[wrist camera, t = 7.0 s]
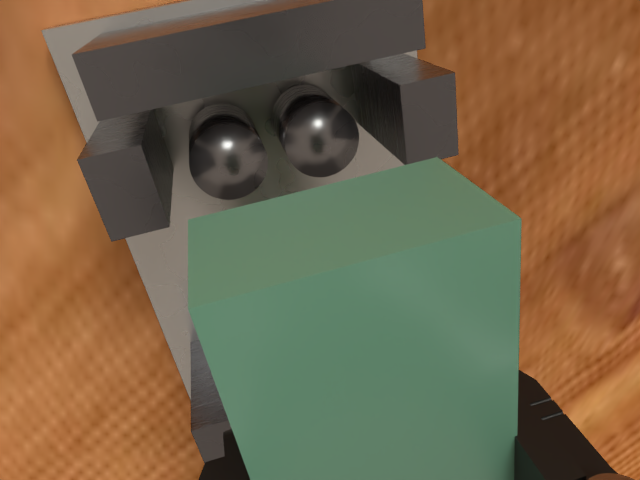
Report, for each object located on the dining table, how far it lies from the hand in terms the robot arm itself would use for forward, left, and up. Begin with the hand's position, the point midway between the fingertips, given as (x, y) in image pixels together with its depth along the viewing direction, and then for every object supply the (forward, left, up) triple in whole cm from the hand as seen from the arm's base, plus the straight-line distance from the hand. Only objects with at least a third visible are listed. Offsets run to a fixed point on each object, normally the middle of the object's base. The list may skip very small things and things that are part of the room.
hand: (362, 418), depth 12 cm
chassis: (0, 0, -11) cm, 11 cm away
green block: (0, 0, 0) cm, 1 cm away
